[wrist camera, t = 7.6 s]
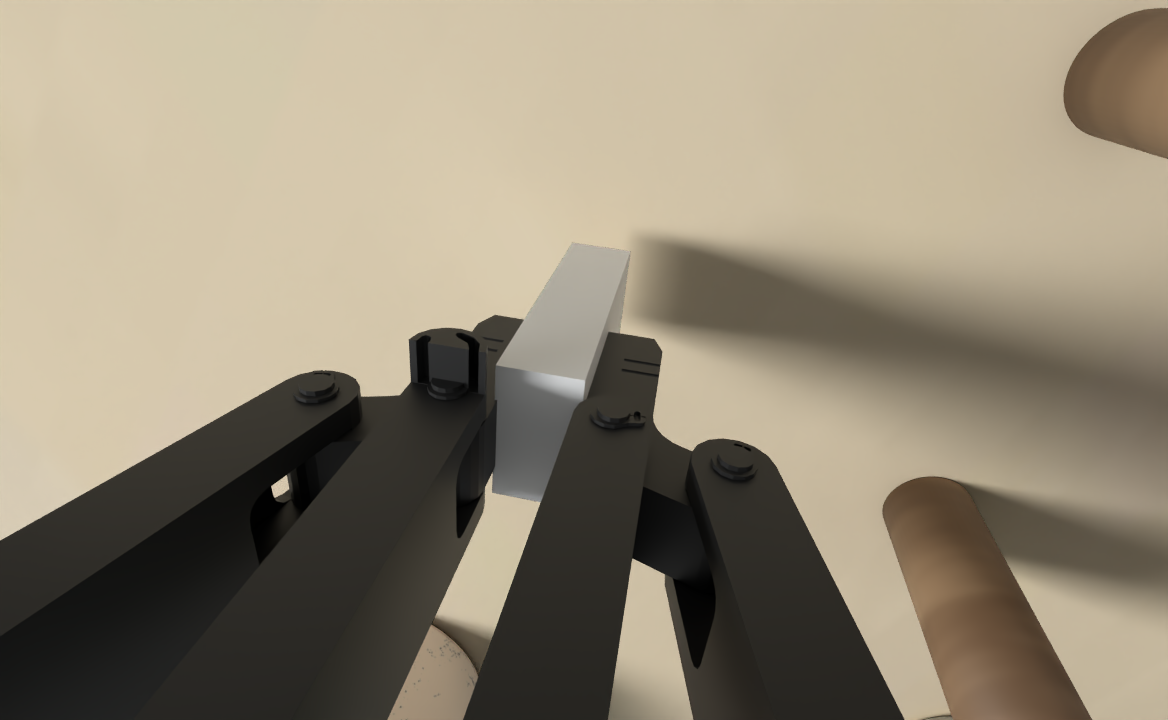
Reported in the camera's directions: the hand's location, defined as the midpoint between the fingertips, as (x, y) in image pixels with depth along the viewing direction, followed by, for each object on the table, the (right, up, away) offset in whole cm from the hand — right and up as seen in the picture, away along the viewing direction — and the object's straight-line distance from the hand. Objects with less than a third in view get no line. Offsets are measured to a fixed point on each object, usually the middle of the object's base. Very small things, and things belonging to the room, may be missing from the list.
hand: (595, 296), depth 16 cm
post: (+11, -6, +4) cm, 13 cm away
